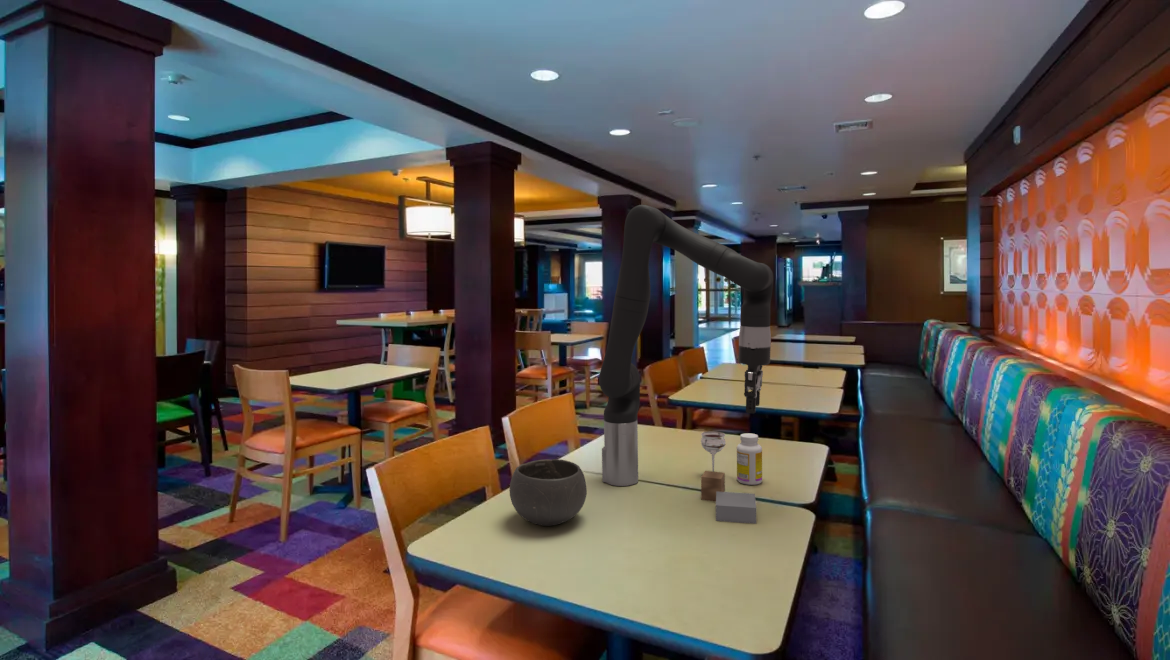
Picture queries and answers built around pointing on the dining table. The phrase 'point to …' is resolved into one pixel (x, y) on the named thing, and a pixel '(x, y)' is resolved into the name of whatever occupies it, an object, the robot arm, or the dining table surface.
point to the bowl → (548, 491)
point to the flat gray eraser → (735, 507)
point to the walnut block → (712, 485)
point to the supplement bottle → (749, 460)
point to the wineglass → (713, 443)
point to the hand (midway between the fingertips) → (752, 409)
